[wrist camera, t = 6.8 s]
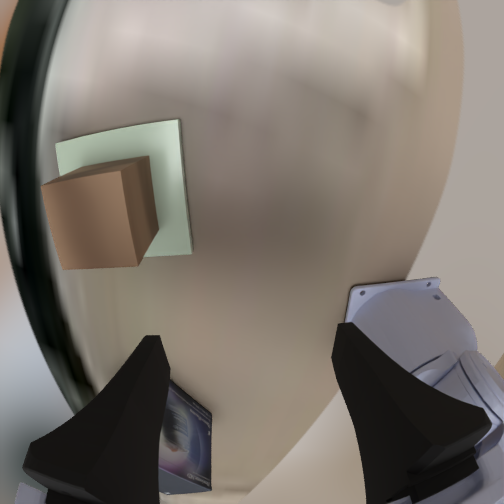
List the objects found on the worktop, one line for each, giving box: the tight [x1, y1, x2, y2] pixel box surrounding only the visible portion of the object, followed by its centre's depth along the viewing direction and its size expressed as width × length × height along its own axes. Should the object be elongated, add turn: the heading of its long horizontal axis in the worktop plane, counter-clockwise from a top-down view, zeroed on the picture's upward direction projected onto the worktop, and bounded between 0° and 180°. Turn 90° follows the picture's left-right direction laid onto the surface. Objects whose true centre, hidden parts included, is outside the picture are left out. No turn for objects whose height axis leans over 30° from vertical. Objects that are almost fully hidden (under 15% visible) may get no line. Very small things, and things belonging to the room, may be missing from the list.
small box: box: [159, 380, 212, 495], centre depth 24 cm, size 11×6×10 cm, turn 29°
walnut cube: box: [41, 156, 159, 270], centre depth 15 cm, size 5×5×5 cm
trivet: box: [55, 119, 193, 257], centre depth 18 cm, size 9×9×1 cm
